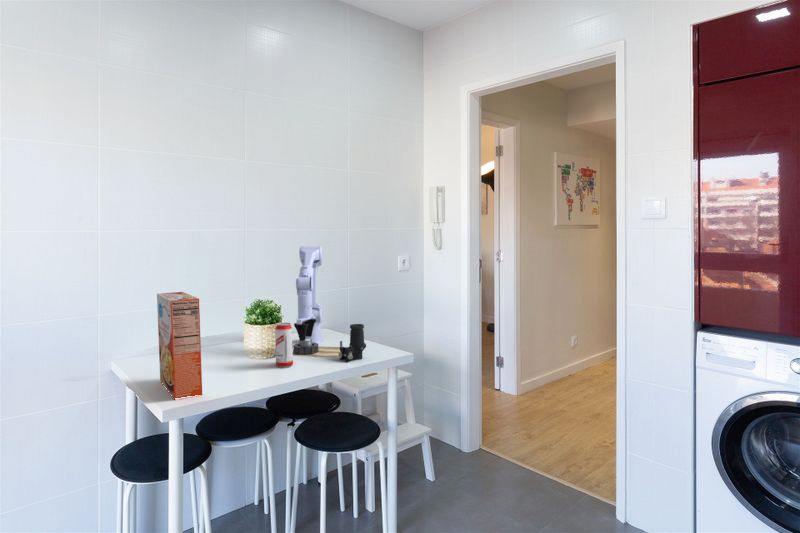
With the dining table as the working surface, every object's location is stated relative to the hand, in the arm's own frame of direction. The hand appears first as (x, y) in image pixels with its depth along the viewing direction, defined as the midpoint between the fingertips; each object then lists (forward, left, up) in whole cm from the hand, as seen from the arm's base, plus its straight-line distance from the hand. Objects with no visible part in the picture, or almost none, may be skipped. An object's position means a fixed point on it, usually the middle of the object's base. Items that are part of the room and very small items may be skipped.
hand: (305, 338), depth 207 cm
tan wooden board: (-2, +6, -6) cm, 9 cm away
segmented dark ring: (0, 0, -6) cm, 6 cm away
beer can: (+20, -1, -7) cm, 21 cm away
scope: (+8, +23, -7) cm, 25 cm away
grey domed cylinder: (0, 0, -6) cm, 6 cm away
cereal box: (+51, -24, -7) cm, 56 cm away
